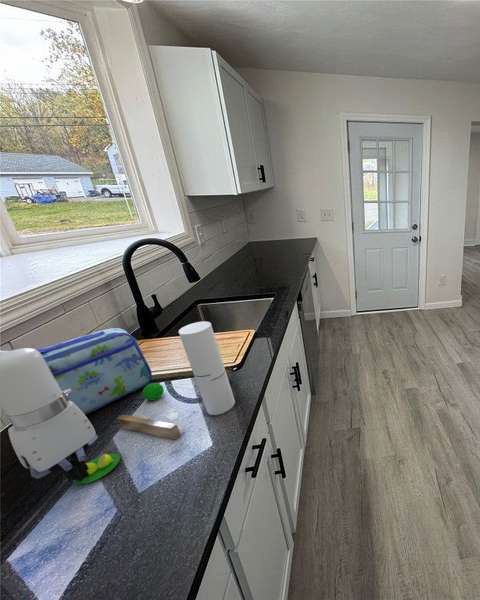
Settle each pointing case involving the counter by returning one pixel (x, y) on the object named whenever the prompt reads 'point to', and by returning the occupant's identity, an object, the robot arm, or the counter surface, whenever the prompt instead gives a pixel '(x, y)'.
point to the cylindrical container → (207, 367)
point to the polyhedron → (153, 391)
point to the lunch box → (98, 367)
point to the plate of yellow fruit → (100, 467)
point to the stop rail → (149, 426)
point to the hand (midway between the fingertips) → (80, 477)
